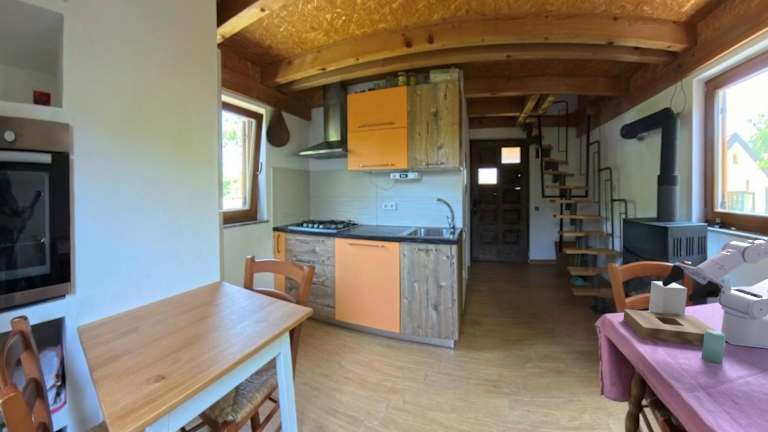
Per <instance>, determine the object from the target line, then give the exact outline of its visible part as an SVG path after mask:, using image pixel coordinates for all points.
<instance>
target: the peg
mask: <svg viewBox="0 0 768 432" xmlns="http://www.w3.org/2000/svg"><path fill="white" fill-rule="evenodd" d="M720 332H721V331H719V332H717V330H715V331H713V330H705V334H704V342H703V346H702V351H701V352H702V353H701V358H702V359H703V360H705V361H707V362H709V363H713V364H719V365H720V364H723V359H724V352H725V344H726V340H725V338H726V335H724V334H723V333H720Z"/></svg>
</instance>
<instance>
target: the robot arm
mask: <svg viewBox="0 0 768 432" xmlns="http://www.w3.org/2000/svg"><path fill="white" fill-rule="evenodd" d="M766 259H767V260H768V237H762V238H761V240H746V241H743V242H739V241H730V242H725V243H724V244H723V245H722V247H721V249H720V250H719V251H717V253H716V254H715V255H713V256H711V257H710V258H708V259H706V260H705V261H703V262H702V263H700V264H698V265H697V266H692V265H687V264H684V263H680V262H678V261H676V262H674V263H673V264H671V266H672V268H671V269H670V271H669V273H668V275H667V276H666V277H665V279H663V280H662V281H661V282H662V284H663V286H664V287H666V286H669V285H670V284H672V283H676V282H678V281H681V280H685V275H687V276H689V277H691V278H692V279H694V280H695V281H697V282H698V283H700V284H701V285H702V286H701V287H700V288H699V289H696V290H695V291H693V292H692V293H691V294H689V295H688V296H687V298H688V301H689V302H691V303H692V302H695V301H699V300H703V299H713V298H714V299H715V298H716V299H717V303H718V304H719V305H720V306H721V310H723V316H722V324H721V331H717V330H716V331H717V332H720V333H723V334H724V335H726V338H725V342H727V343H729V344H730V345H735V346H742V347H744V346H745V347H750V348H751V347H752V348H761V349H767V350H768V318H767V316H768V278H767V279H764V280H762V281H760V282H757V283H756V284H753V285H750V286H734V287H731V286H729V285H727V284H725V283H723V282H722V281H720V279H722V278H723V277H725V276H727V275H729V274H730V273H732V272H733V271H735V270H737V269H739V268H740V267H742V266H744V265H746V264H753V265H757V264H758V263H760V262H761V261H762V260H766Z"/></svg>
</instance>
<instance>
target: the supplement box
mask: <svg viewBox="0 0 768 432" xmlns="http://www.w3.org/2000/svg"><path fill="white" fill-rule="evenodd" d="M662 282H663V281H655V280H654V281H652V280H651V282H650V293H649V306H648V312H649V311H650V312H658V313H669V314H679V315H686V314H685V313H686V303H687V297H688V296H687V295H688V294H687V293H688V288H687V287H685V286H683V285H680V284H678V283H676V282H674V283H672V284H670V285H669V286H666V287H664V286H663V284H662Z"/></svg>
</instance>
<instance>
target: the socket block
mask: <svg viewBox="0 0 768 432" xmlns="http://www.w3.org/2000/svg"><path fill="white" fill-rule="evenodd" d="M623 321H625V323H627V324H628V326H629V327H630V328H631V329H632V330H633V331H635V332H636V334H637V335H638V336H640V337H641V339H644V340H651V341H659V342H668V343H676V344H682V345H683V344H684V345H693V346H699V347H700V346H702V347H703V342H704V334H705V330H713V331H716V330H715V329H714V328H712V327H710V325H708V324H706V323H704V322H703V321H701V320H699V319H698V318H697V317H695V316H694V315H687V314H685V315H679V314H669V313H658V312H649V310H648V311H645V310H637V309H635V310H634V309H628V308H627V309H626V308H624V309H623Z"/></svg>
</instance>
